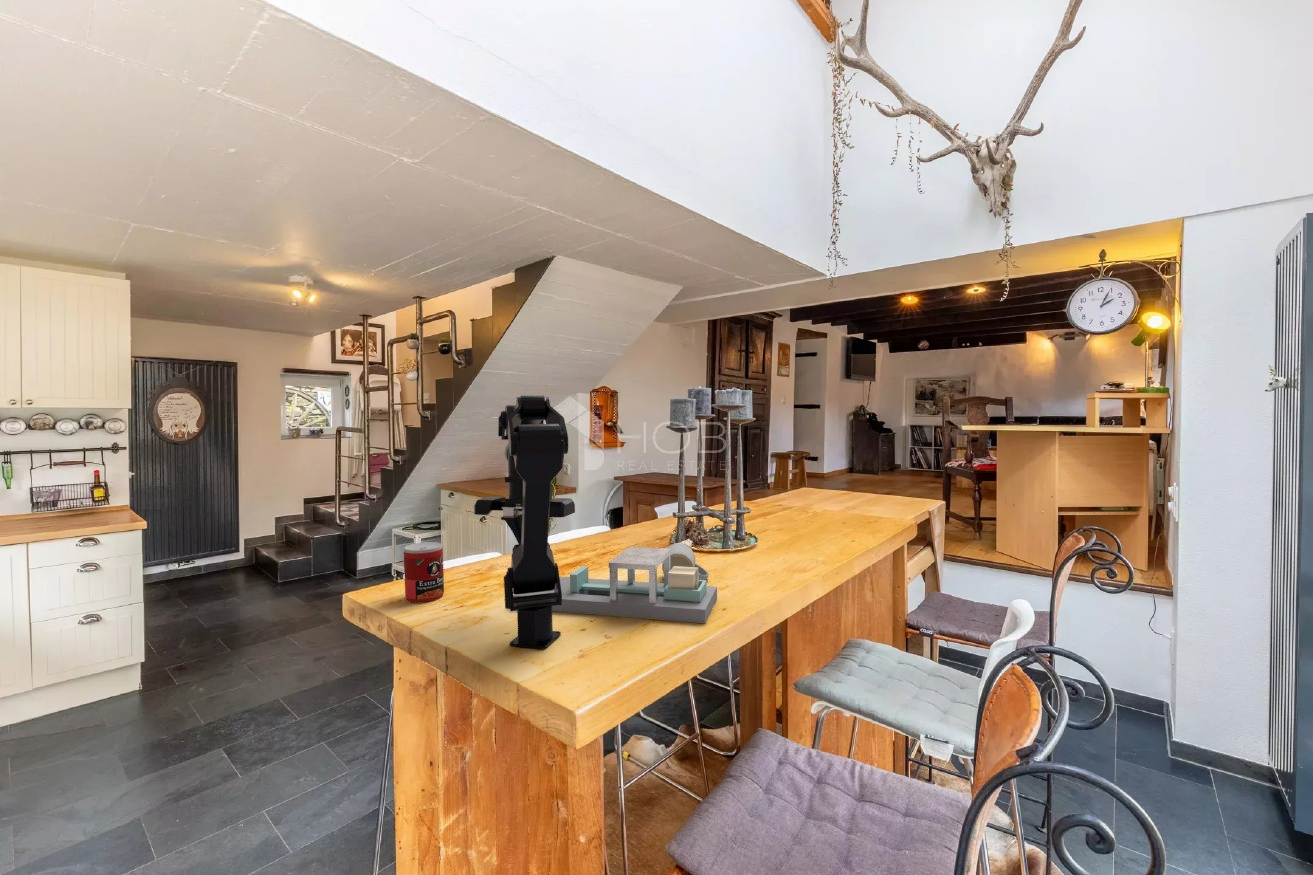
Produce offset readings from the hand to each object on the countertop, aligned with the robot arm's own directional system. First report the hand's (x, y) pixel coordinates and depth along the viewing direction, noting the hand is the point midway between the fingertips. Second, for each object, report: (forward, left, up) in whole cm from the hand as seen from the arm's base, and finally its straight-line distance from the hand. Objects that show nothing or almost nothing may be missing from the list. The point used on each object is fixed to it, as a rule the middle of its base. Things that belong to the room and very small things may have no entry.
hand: (525, 551), depth 107 cm
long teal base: (+9, -20, -9) cm, 24 cm away
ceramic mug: (+28, -25, -12) cm, 40 cm away
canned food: (+4, +26, -12) cm, 29 cm away
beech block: (+9, -29, -10) cm, 32 cm away
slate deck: (+9, -15, -12) cm, 21 cm away
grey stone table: (+9, -20, -10) cm, 24 cm away
